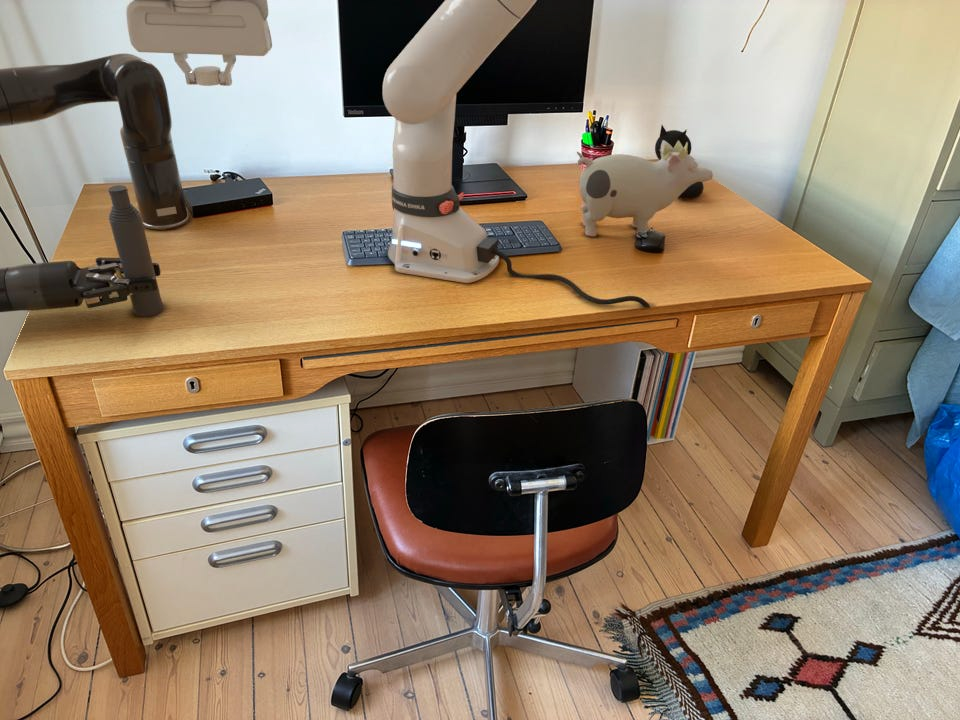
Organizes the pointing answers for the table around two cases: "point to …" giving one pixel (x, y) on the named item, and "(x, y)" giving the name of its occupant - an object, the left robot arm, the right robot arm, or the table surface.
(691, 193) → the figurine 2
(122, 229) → the bottle
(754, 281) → the table surface
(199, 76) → the cap
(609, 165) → the figurine
